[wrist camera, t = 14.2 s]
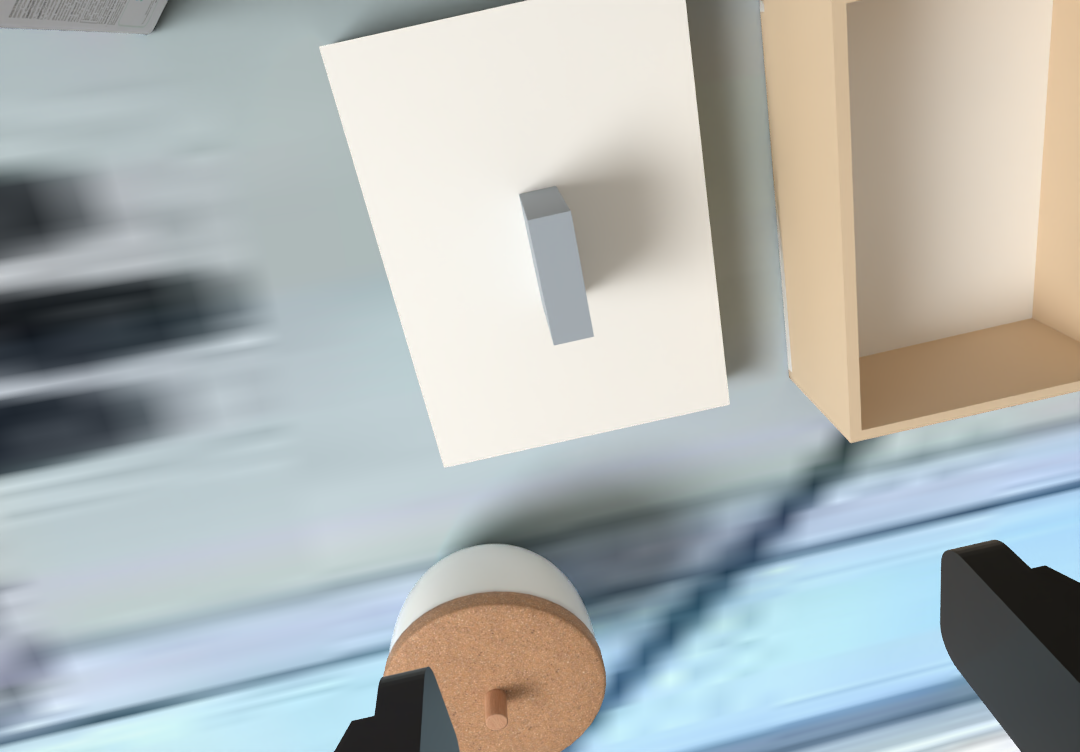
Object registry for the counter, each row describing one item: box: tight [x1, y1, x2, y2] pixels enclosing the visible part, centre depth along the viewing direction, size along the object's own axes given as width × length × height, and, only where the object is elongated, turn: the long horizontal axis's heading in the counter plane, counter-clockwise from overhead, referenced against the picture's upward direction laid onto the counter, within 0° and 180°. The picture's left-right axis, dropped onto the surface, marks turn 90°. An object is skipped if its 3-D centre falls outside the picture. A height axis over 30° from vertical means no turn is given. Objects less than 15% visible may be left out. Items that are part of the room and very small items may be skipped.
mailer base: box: [759, 0, 1080, 443], centre depth 33 cm, size 18×13×7 cm
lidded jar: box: [383, 544, 606, 752], centre depth 39 cm, size 11×11×9 cm
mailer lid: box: [319, 0, 730, 468], centre depth 32 cm, size 19×14×8 cm
